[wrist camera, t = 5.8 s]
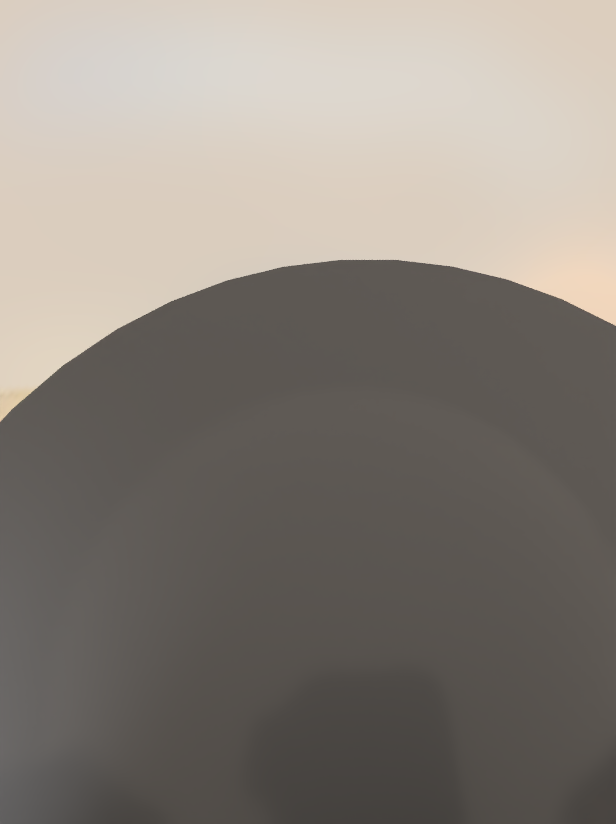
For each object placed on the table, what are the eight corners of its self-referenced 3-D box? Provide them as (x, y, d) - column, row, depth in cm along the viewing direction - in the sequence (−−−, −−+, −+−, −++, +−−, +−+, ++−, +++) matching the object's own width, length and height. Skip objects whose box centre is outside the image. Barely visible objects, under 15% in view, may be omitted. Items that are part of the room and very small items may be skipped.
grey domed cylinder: (337, 732, 14) (747, 2146, 2) (158, 612, 15) (-509, 1032, 2) (437, 542, 16) (1040, 564, 3) (272, 438, 16) (246, 118, 4)
